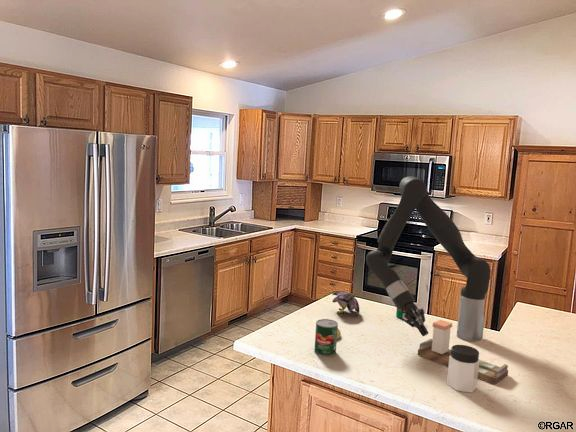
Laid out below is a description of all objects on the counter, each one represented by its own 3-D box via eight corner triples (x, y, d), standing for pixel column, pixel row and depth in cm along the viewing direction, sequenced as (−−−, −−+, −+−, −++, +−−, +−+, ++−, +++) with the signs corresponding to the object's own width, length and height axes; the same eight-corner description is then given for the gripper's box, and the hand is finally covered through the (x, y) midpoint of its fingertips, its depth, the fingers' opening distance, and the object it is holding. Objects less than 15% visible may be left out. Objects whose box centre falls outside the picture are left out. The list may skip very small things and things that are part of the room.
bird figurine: (369, 298, 198) (338, 287, 197) (362, 323, 196) (330, 312, 195) (361, 297, 212) (331, 287, 212) (353, 321, 210) (324, 310, 210)
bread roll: (318, 339, 174) (319, 329, 173) (321, 331, 182) (321, 322, 182) (339, 342, 172) (340, 332, 172) (341, 333, 181) (342, 324, 181)
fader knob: (430, 350, 162) (432, 322, 161) (437, 346, 166) (440, 319, 164) (442, 354, 159) (444, 326, 157) (449, 350, 162) (452, 323, 161)
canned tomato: (316, 356, 157) (318, 326, 156) (312, 347, 165) (313, 319, 164) (338, 356, 159) (340, 326, 157) (333, 347, 166) (334, 318, 165)
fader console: (417, 354, 163) (418, 344, 163) (431, 348, 170) (432, 338, 170) (495, 384, 143) (496, 372, 143) (507, 375, 150) (508, 364, 150)
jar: (453, 376, 147) (457, 341, 146) (479, 385, 142) (483, 349, 141) (443, 386, 141) (446, 349, 139) (469, 395, 135) (473, 358, 134)
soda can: (407, 319, 201) (409, 293, 199) (396, 318, 202) (398, 292, 200) (407, 316, 206) (409, 290, 204) (395, 314, 207) (397, 289, 205)
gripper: (397, 292, 166) (423, 334, 159) (415, 287, 176) (442, 326, 168) (383, 302, 171) (409, 343, 163) (402, 296, 180) (427, 335, 173)
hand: (425, 334), depth 166 cm, fingers closed
